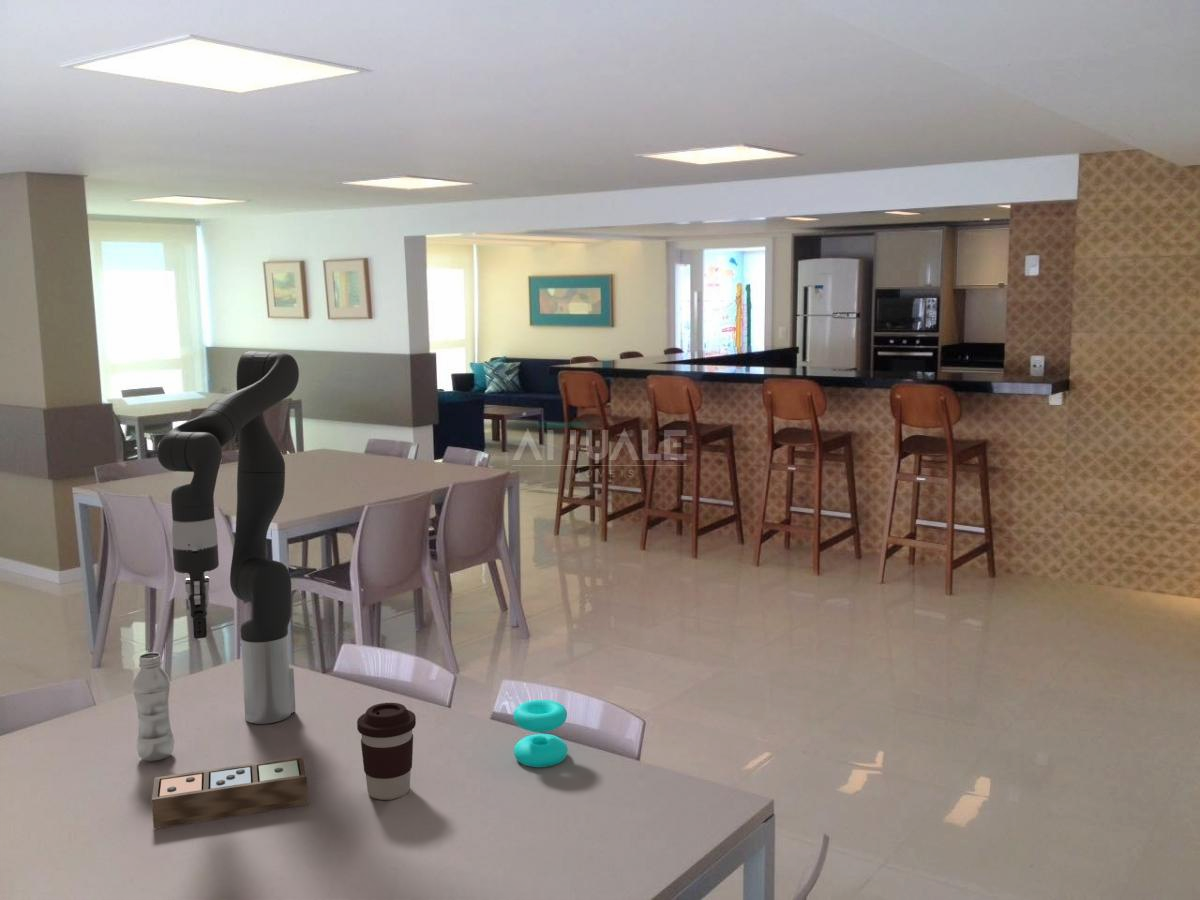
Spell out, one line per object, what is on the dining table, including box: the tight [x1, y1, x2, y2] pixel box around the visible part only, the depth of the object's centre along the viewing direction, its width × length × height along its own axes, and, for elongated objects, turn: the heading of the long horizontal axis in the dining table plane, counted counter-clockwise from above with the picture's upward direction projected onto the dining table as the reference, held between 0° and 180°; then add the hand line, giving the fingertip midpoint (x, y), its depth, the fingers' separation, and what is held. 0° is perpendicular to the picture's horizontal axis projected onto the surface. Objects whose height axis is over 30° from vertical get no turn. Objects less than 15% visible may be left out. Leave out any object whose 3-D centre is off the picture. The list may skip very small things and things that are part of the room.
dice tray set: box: [151, 755, 309, 829], centre depth 177 cm, size 24×9×5 cm, turn 110°
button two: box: [159, 774, 203, 797], centre depth 174 cm, size 6×6×3 cm
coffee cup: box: [356, 702, 417, 801], centre depth 181 cm, size 10×10×15 cm
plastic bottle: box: [132, 651, 175, 762], centre depth 195 cm, size 6×7×20 cm
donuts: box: [512, 699, 569, 768], centre depth 195 cm, size 10×10×10 cm
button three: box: [210, 767, 251, 789], centre depth 177 cm, size 6×6×3 cm
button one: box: [259, 760, 299, 782], centre depth 179 cm, size 6×6×3 cm
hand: (200, 637), depth 188 cm, fingers closed
